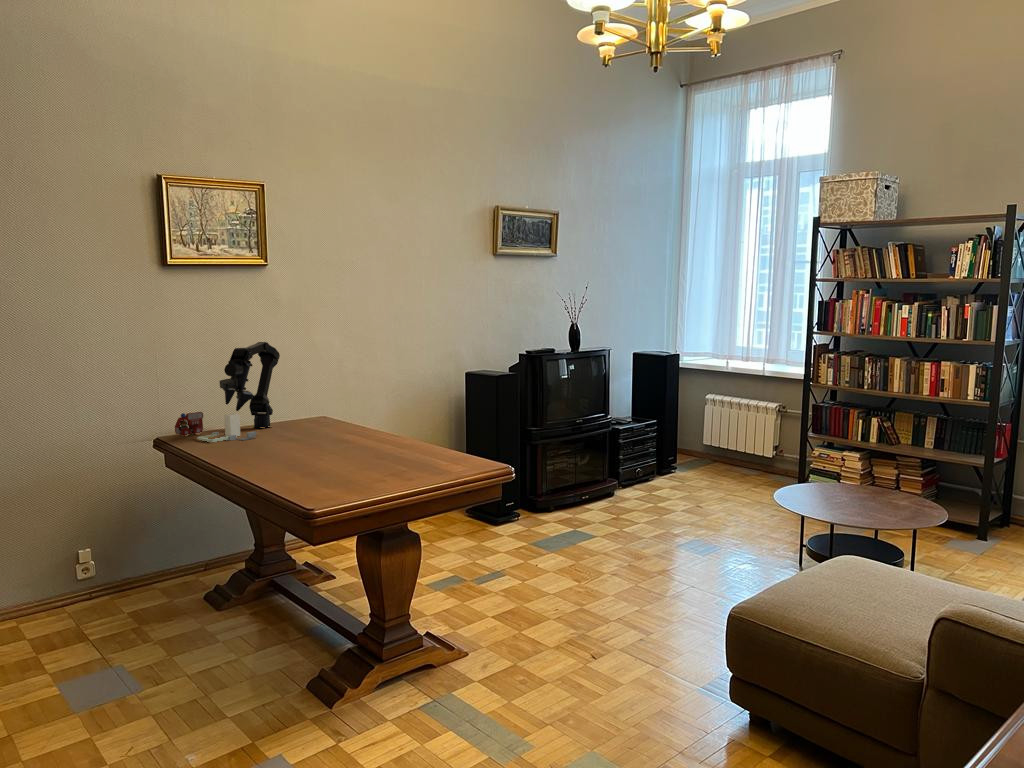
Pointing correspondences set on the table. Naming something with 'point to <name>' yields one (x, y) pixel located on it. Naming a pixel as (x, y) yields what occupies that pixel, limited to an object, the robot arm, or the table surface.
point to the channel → (233, 437)
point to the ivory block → (232, 424)
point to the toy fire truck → (189, 423)
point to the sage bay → (205, 438)
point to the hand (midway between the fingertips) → (231, 407)
